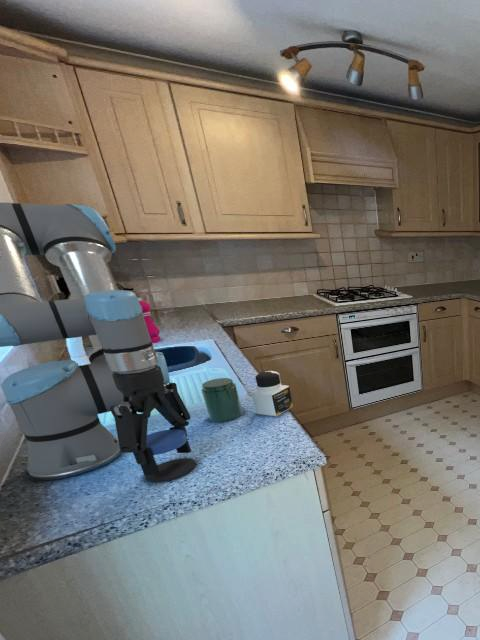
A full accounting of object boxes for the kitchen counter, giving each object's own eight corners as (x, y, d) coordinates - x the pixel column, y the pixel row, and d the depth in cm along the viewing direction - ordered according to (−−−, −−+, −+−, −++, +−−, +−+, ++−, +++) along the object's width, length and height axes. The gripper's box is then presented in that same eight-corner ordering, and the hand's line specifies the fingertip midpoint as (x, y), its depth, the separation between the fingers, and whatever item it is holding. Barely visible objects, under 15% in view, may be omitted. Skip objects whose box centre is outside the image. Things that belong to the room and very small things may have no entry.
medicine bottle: (276, 416, 117) (268, 378, 113) (255, 414, 119) (246, 376, 114) (293, 406, 124) (286, 370, 120) (273, 404, 125) (265, 368, 121)
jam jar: (204, 423, 113) (194, 388, 109) (216, 411, 120) (207, 378, 116) (237, 420, 115) (228, 386, 111) (246, 408, 122) (238, 376, 118)
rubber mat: (134, 482, 87) (133, 480, 87) (167, 459, 96) (167, 457, 96) (176, 483, 88) (175, 481, 87) (205, 460, 96) (205, 458, 96)
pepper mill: (162, 338, 191) (148, 295, 183) (162, 341, 185) (148, 298, 178) (142, 340, 186) (127, 297, 179) (141, 344, 181) (126, 299, 174)
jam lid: (151, 438, 92) (148, 431, 91) (194, 433, 94) (192, 427, 93) (128, 457, 84) (126, 450, 84) (176, 452, 86) (173, 445, 86)
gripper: (105, 388, 73) (145, 492, 81) (192, 353, 92) (217, 439, 101) (63, 387, 73) (108, 491, 81) (159, 352, 92) (187, 439, 101)
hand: (169, 462), depth 91 cm, fingers closed on jam lid, 8 cm apart
